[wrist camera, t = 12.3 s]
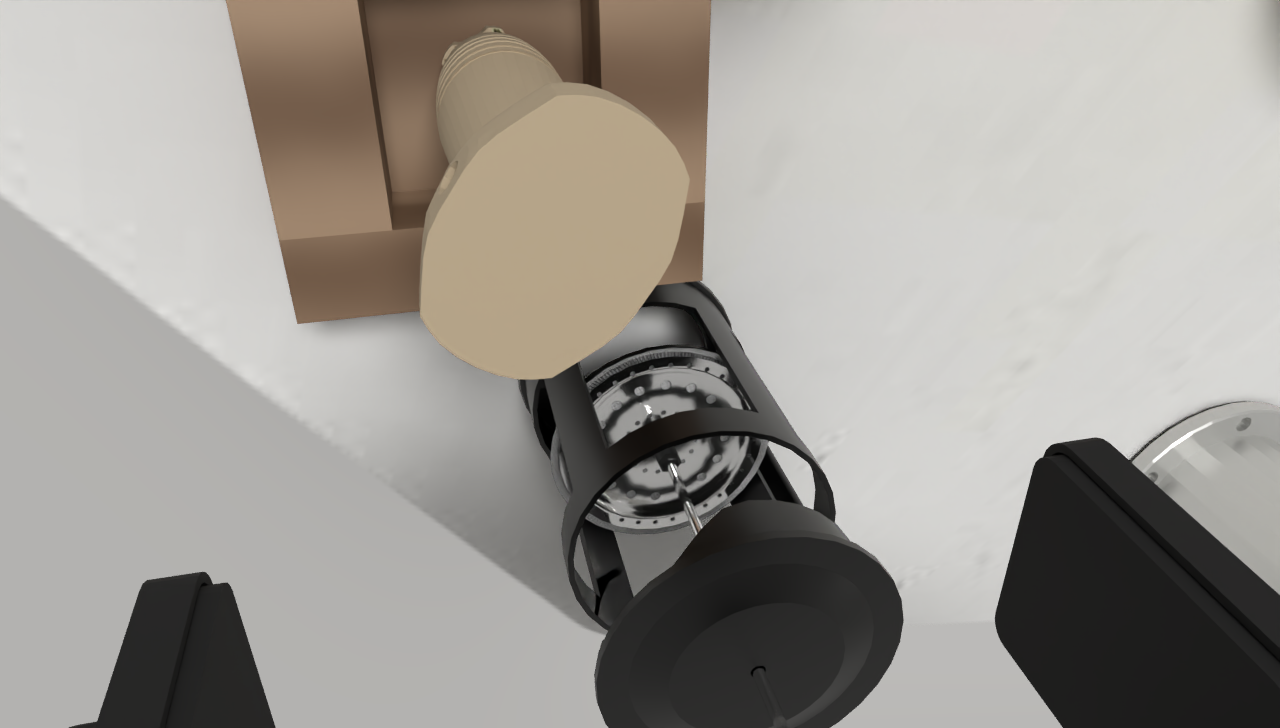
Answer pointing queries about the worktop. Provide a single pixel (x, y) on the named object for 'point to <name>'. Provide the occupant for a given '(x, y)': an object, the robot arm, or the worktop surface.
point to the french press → (709, 541)
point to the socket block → (432, 121)
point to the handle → (541, 212)
